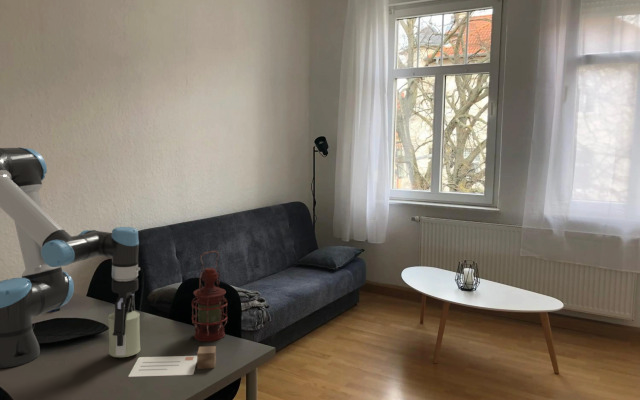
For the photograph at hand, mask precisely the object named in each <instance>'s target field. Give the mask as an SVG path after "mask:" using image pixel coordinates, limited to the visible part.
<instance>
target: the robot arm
mask: <svg viewBox="0 0 640 400" xmlns="http://www.w3.org/2000/svg"><path fill="white" fill-rule="evenodd" d="M47 171H48V169H47V163H46V160H45V159H44V157H43V155H42V154H40V152H37V151H36V150H35V149H33V148H25V147H0V209H1V210H2V211H3V212H5V214H7V216H9V217H10V219H12V220H13V222H14V226H15V230H16V234H17V239H18V243H19V247H20V251H21V255H22V260H23V265H24V271H23V272H22V273H21V275H20V277H14V278H13V277H12V278H10V279H7V278H6V279H3V280H0V369H5V368H12V367H17V366H22V365H25V364H28V363H30V362H32V361H34V360H35V359H37V358H38V357H39V356H40V354H41V353H40V352H41V351H40V343H39V342H38V340H37V337H36V335H35V333H34V331H33V318H35V317H37V316H40V315H43V314H45V313H49V312H48V311H51V310H55V309H58V308H59V307H60V308H61V307H63V306H65V305H66V304H68V303H69V302H70V301H71V298H72V297H73V295H74V292H75V291H74V290H75V284H74V281H73V277H72V276H71V275H69V273H68V272H67V271H64V270H63V269H62V267H64V266H69V265H71V264H74V263H77V262H81V261H85V260H89V259H92V258H96V257H104V258H105V257H106V258H111V278H112V279H111V291H112V292H113V293H114V294H115V293H116V294H118V297H116V301H115V302H114V313H115V321H114V333H113V335H114V336H116V356H124V355H126V334H125V327H126V318H127V312H132V311H136V304H135V292H137V291H138V290H139V278H138V276H139V271H141V267H139V246H140V239H139V231H138V229H136V227H132V226H119V227H115V228H113V229H112V231H111V232H108V231H102V230H101V231H100V230H96V229H92V230H90V229H89V230H88V229H85V230H83V231H81V232H80V233H79V234H77V235H74V236H72V235H70V234H69V232H67V231H66V230H65V229H64V228H63V227H61V225H60V224H58V222H56V221H55V219H53V218H52V217H51V216H50V215H49V214H48V213H47V212H46V211H45V210H44V209H43V205H42V201H41V196H40V190H41V188H42V187H43V182H42V181H44V179H46V175H47V173H48V172H47Z"/></svg>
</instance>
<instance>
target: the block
mask: <svg viewBox="0 0 640 400" xmlns="http://www.w3.org/2000/svg"><path fill="white" fill-rule="evenodd" d="M196 356H197V362H196V366H197V367H196V369H197V370H199V369H201V370H202V369H215V367H216V363H217V346H215V345H213V346H198V350H197V354H196Z"/></svg>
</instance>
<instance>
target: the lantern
mask: <svg viewBox="0 0 640 400" xmlns="http://www.w3.org/2000/svg"><path fill="white" fill-rule="evenodd" d="M211 253H216V254H217V258H216V260H215V266H216V268H214V267H206V268H204V267H202V268H201V271H200V273H199V281H198V282H199V283H198V284H199V285H198V286H199V287H198V288H197V289H195V290H194V291H193V295H194V297H193V299H192V300H191V309H192V311H191V314H192V315H191V321H192V324H193V325H194V327H195V328H194V330H195V332H194V335H193V338H194V339H195V340H196V341H199V342H205V343H206V342H208V343H209V342H215V341H216V342H217V341H220V340H222V338H223V337H224V336H226V333H225V326H226V324H227V323H228V305H229V304H228V300H227V298H226V297H225V295H226V294H227V293H226V292H227V291H226V289H224V288H221V287H220V286H219V285H220V283H221V282H220V281H221V280H220V279H221V278H220V277H221V276H220V275H221V273H220V269H219V268H218V263H217V262H218V259H219V255H220V253H219V251H217V250H210V251H206V252H203V253H202V254H201V255H200V262H201V264H202V265H204V262H203V260H202V257H203V256H204V255H207V254H211ZM216 269H217V270H218V271H217V270H216ZM201 281H202V282H204V286H203V284H202V282H201ZM215 282H216V285H217V286H216V285H215ZM224 303H225V304H224ZM224 308H225V313H224ZM194 310H195V314H194ZM224 317H225V318H224ZM194 318H195V319H194ZM224 322H225V323H224ZM223 323H224V324H223ZM224 338H225V337H224ZM224 338H223V339H224Z"/></svg>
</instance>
